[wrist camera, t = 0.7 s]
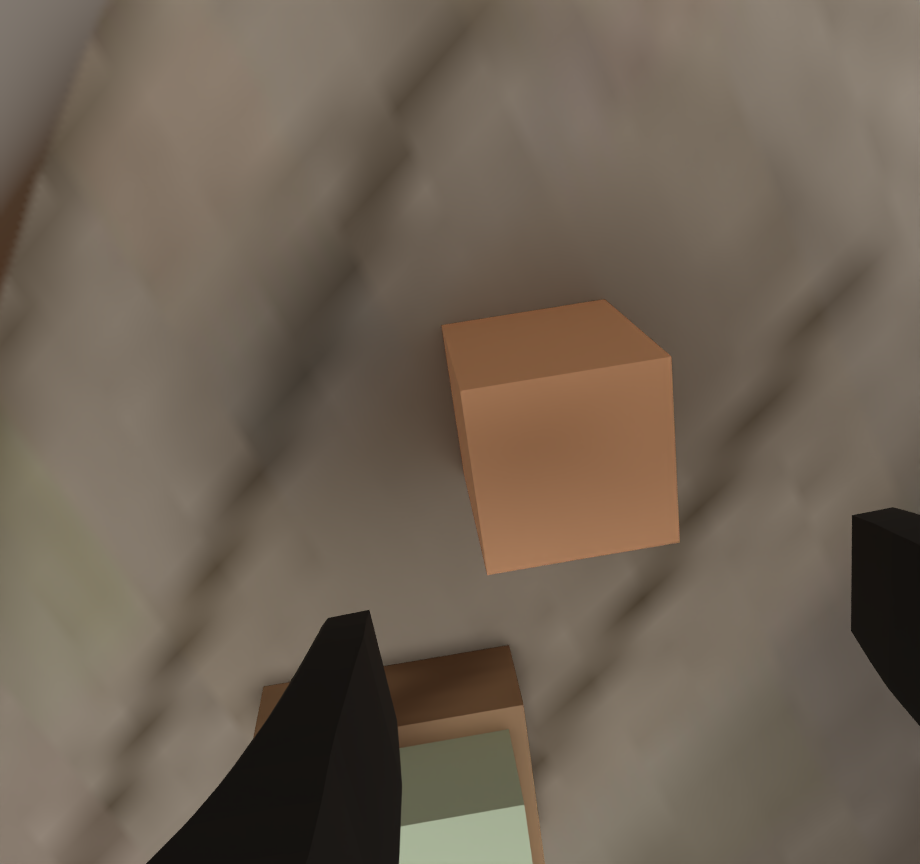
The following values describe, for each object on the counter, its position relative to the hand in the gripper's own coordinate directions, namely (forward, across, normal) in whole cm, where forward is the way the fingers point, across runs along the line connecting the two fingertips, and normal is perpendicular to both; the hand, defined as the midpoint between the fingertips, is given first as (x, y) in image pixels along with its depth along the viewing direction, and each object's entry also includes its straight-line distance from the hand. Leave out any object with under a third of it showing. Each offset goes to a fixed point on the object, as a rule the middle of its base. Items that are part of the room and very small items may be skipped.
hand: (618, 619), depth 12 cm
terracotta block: (+10, 0, 0) cm, 10 cm away
